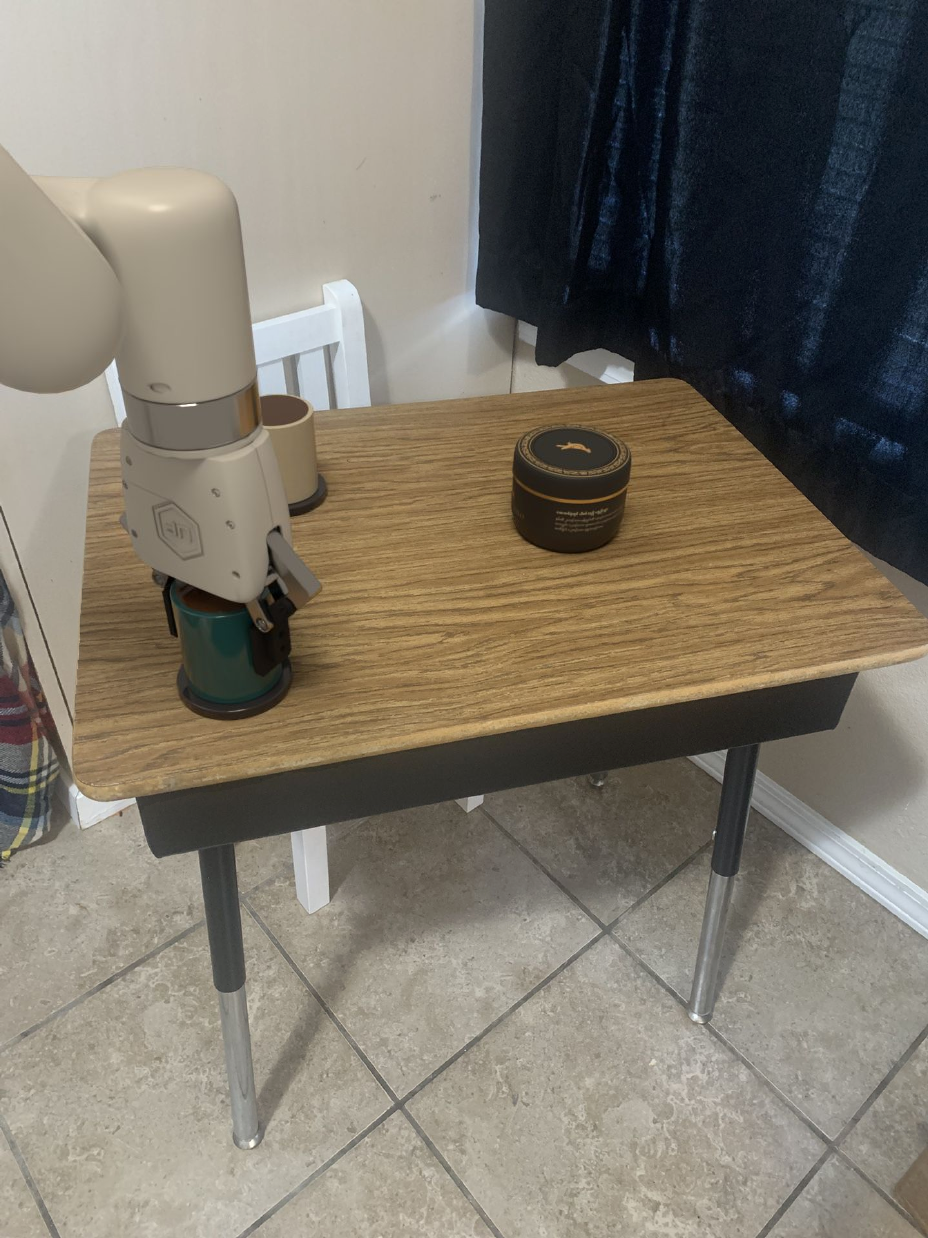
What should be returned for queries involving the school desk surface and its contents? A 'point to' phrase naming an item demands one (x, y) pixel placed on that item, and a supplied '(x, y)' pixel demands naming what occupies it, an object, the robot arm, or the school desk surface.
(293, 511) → the dark grey round coaster
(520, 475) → the jar
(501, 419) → the school desk surface
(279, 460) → the cup back
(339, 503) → the school desk surface
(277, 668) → the cup front
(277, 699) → the saucer front
